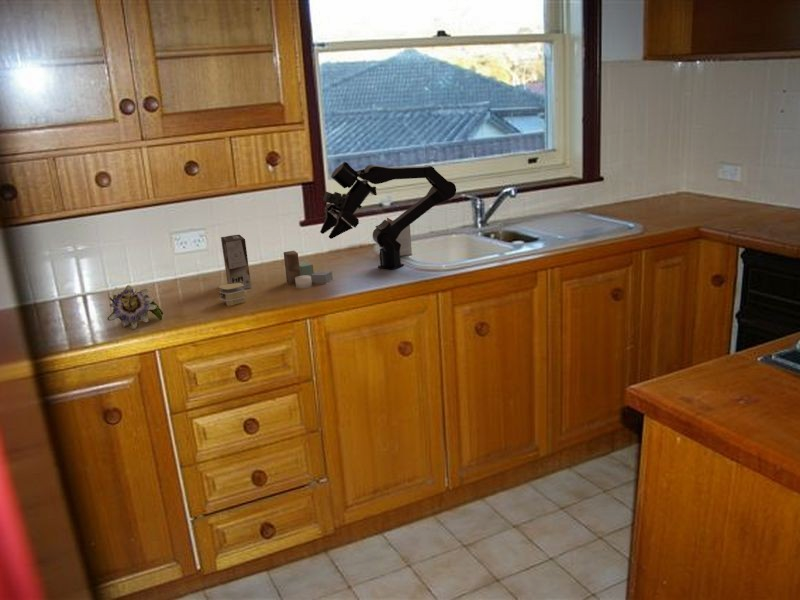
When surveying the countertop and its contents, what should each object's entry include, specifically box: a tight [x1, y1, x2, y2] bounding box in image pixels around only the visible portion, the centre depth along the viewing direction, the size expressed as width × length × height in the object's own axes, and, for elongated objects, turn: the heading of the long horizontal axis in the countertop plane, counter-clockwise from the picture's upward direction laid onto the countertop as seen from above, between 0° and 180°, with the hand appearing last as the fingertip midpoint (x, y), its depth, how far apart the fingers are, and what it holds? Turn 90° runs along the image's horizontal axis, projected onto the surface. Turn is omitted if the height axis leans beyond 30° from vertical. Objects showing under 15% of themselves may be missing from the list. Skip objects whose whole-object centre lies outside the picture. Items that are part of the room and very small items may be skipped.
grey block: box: [311, 270, 333, 285], centre depth 238 cm, size 5×5×3 cm
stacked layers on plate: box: [218, 283, 247, 307], centre depth 222 cm, size 10×9×6 cm
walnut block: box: [283, 250, 300, 286], centre depth 238 cm, size 4×4×10 cm
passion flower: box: [107, 284, 164, 331], centre depth 208 cm, size 13×12×14 cm
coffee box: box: [220, 234, 252, 290], centre depth 237 cm, size 9×6×16 cm
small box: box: [386, 215, 413, 257], centre depth 266 cm, size 8×6×13 cm
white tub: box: [295, 275, 313, 290], centre depth 234 cm, size 5×5×3 cm
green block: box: [299, 260, 315, 276], centre depth 247 cm, size 6×4×4 cm, turn 32°
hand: (325, 235), depth 240 cm, fingers open, 9 cm apart
